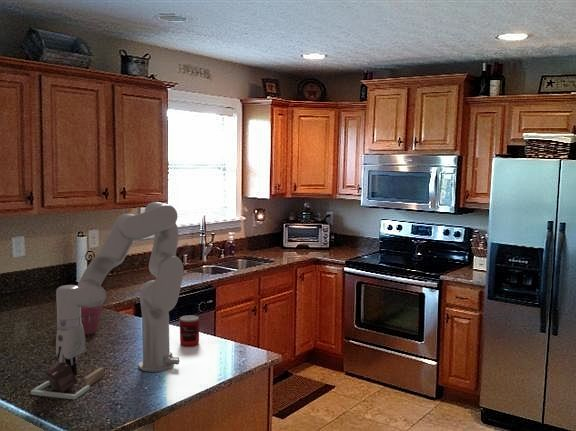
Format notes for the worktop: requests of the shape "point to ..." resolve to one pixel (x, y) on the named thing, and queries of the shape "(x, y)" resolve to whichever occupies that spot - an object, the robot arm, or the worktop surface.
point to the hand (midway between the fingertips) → (71, 375)
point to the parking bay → (56, 394)
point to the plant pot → (90, 318)
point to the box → (61, 377)
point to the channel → (93, 376)
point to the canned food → (189, 330)
